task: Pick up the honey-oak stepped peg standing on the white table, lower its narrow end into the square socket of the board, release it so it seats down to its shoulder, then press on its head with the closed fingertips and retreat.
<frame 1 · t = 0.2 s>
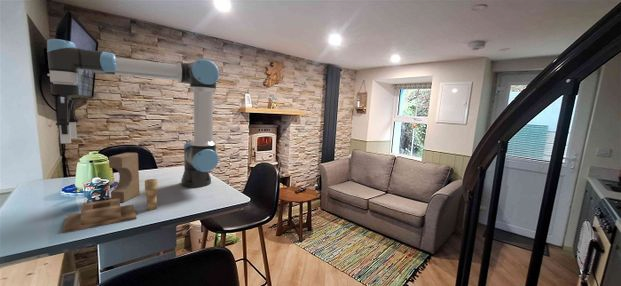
hand: (69, 140, 98), 28 cm above the table, fingers open, 13 cm apart
peg: (152, 208, 106), on the table
board: (102, 218, 95), on the table
decorative block: (126, 198, 116), on the table
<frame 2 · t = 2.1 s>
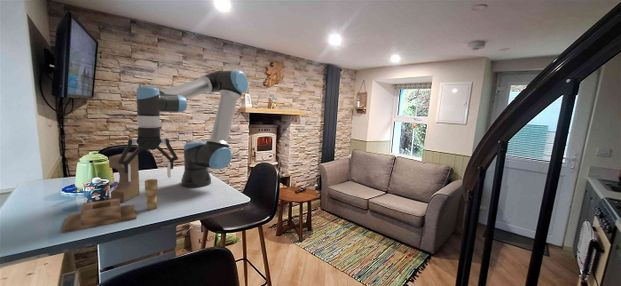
hand: (150, 178, 104), 13 cm above the table, fingers open, 13 cm apart
nothing on the table moved.
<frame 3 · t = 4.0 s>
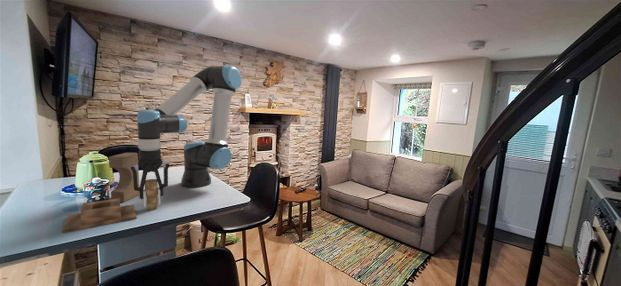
hand: (152, 204, 106), 2 cm above the table, fingers closed on peg, 4 cm apart
peg: (152, 208, 106), on the table, touching gripper
everything else where it was.
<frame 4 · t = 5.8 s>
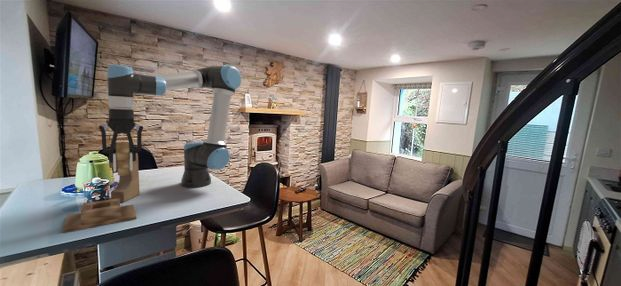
hand: (123, 170, 97), 18 cm above the table, fingers closed on peg, 4 cm apart
peg: (123, 174, 98), point 16 cm above the table, touching gripper
everything else where it was.
when the fingers open (6 cm above the table, at t = 7.8 s): peg drops 4 cm, resting on board.
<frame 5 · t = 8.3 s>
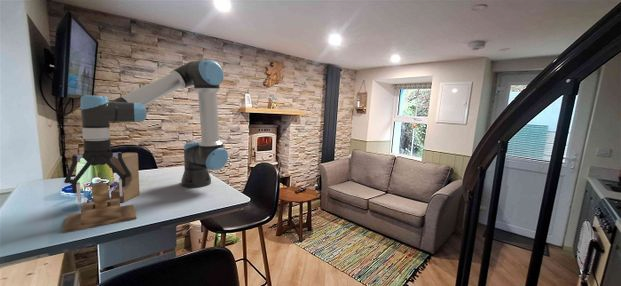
hand: (101, 198, 94), 8 cm above the table, fingers open, 11 cm apart
peg: (102, 215, 95), point 1 cm above the table, touching board
everything else where it was.
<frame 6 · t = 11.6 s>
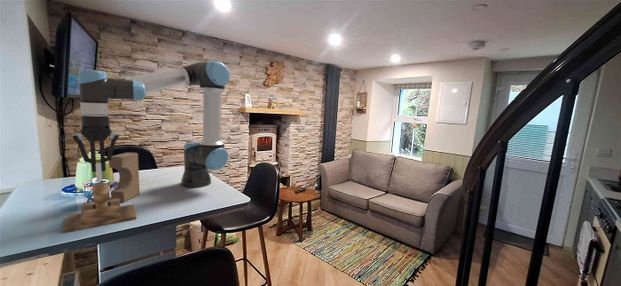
hand: (99, 180, 93), 15 cm above the table, fingers closed
nothing on the table moved.
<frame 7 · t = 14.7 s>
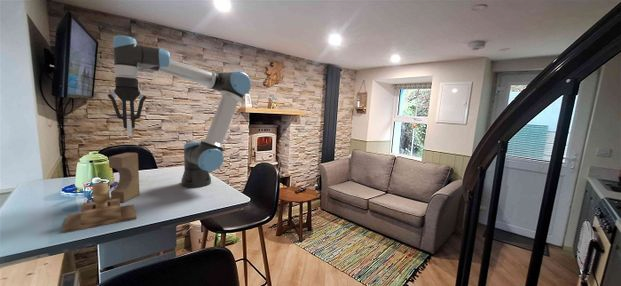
hand: (129, 136, 105), 29 cm above the table, fingers closed
nothing on the table moved.
at the end: peg 0.0 cm off-centre on the board, point 1.0 cm above the board's base; peg tilted 0°; the gripper is holding nothing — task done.
